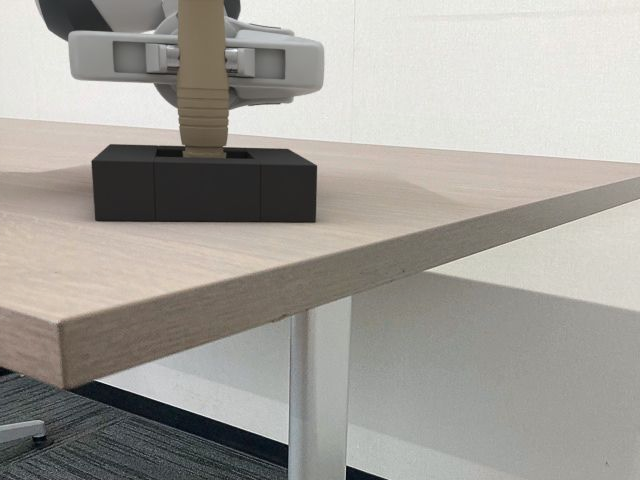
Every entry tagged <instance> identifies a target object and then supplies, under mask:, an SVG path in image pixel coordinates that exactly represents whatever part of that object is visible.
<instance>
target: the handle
mask: <svg viewBox="0 0 640 480" xmlns="http://www.w3.org/2000/svg"><path fill="white" fill-rule="evenodd" d="M178 46H179V48H180V56H179V57H178V59H179V61H180V67H179V70H178V71H177V97H178V100H177V106H178V109H177V116H178V118H177V119H178V120H177V121H178V124H179V126H178V129H179V136H180V141H181V146H185V151H182V152H183V157H192V158H226V153H224V152H223V147H227V143H228V136H229V127H228V126H229V122H230V119H229V117H230V110H229V111H228V108H229V102H228V99H229V93H228V90H229V82H228V73H227V72H226V69H225V63H226V61H227V60H226V58H225V48H226V38H225V21H224V0H178Z"/></svg>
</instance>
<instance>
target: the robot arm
mask: <svg viewBox="0 0 640 480" xmlns="http://www.w3.org/2000/svg"><path fill="white" fill-rule="evenodd" d="M34 3H35V6H36V9H37V11H38V13H39V15H40V17H41V19H42V21H43V22H44V24H45V26H46V28H47V30H48V31H50V32H51V33H53V34H54V35H55V36H57V37H58V38H60V39H61V40H63V41H65V42H67V44H68V60H69V61H68V62H69V69H70V75H71V77H72V78H73V79H75V80H77V81H83V82H84V81H85V82H88V81H89V82H110V83H115V82H116V83H137V84H153V86H154V87H155V89H156V91H157V93H159V95H160V96H161V97H162V98H163V100H165V101H166V102H167V103H168V104H169V105H171V106H172V107H174V108H175V109H177V110H178V106H177V100H178V97H177V71H178V70H179V67H180V61H179V59H178V57H179V56H180V48H179V46H178V0H34ZM241 4H242V3H241V0H224V21H225V38H226V48H225V58H226V60H227V61H226V63H225V69H226V72H227V73H228V82H229V90H228V93H229V99H228V102H229V108H228V111H229V112H230V111H232V110H235V109H238V108H242V107H247V106H248V107H254V106H266V105H267V106H269V105H272V106H273V105H281V104H286V105H287V104H288V105H290V104H292V103H293V102H294V100H295V97H301V96H307V95H311V94H315V93H317V92H319V91H320V90H322V89H323V86H324V82H325V81H324V80H325V46H324V45H323V43H322V42H321V41H317V40H315V39H310V38H306V37H301V36H297V35H296V34H295V32H294V31H293V30H292V29H289V28H282V27H277V26H267V25H261V24H255V23H248V22H247V23H246V22H243V21H241V20H239V18H240V15H241V12H242V6H241ZM152 31H153V33H149V32H152Z"/></svg>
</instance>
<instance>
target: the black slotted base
mask: <svg viewBox="0 0 640 480" xmlns="http://www.w3.org/2000/svg"><path fill="white" fill-rule="evenodd" d="M182 151H185V145H163V144H162V145H161V144H159V145H158V144H127V143H125V144H121V143H110V144H108V145H107V146H105V148H104V149H103V150H102V151H100V152H99V153H98V154H97V155H96V156H95V157H93V159H92V160H91V162H90V163H91V175H92V176H91V177H92V178H91V179H92V189H93V190H92V192H93V193H92V195H93V207H94V208H93V210H94V211H93V212H94V220H95V221H96V222H99V221H100V222H101V221H104V222H108V221H109V222H127V221H128V222H238V221H255V222H256V221H257V222H256V223H258V222H259V223H260V222H261V223H263V222H265V223H316V222H317V193H318V192H317V190H318V165H317V164H316V163H314V162H312V161H310V160H309V159H306V158H305V157H303V156H301V155H300V154H298V153H296V152H294V151H293V150H291V149H289V148H279V147H278V148H277V147H275V148H274V147H273V148H272V147H237V146H235V147H234V146H223V152H224V153H226V158H192V157H183V152H182Z"/></svg>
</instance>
